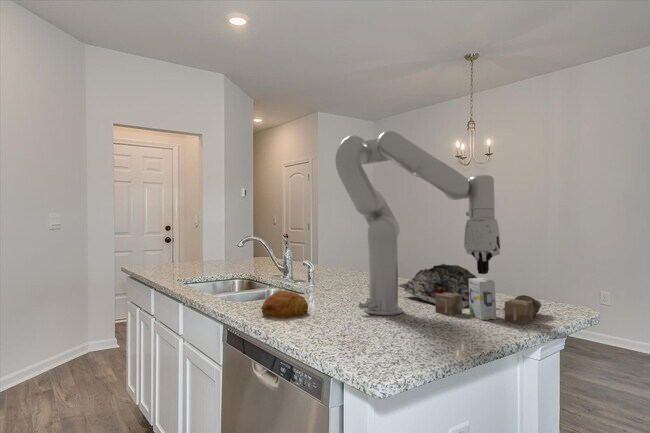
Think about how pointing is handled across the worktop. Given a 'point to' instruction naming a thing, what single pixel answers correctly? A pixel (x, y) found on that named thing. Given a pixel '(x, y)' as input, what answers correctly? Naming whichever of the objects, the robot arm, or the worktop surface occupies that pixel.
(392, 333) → the worktop surface
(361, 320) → the worktop surface
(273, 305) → the croissant
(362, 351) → the worktop surface
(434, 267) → the bark piece
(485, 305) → the ink box
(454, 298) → the cardboard box
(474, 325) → the worktop surface
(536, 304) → the stone
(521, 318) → the walnut block
